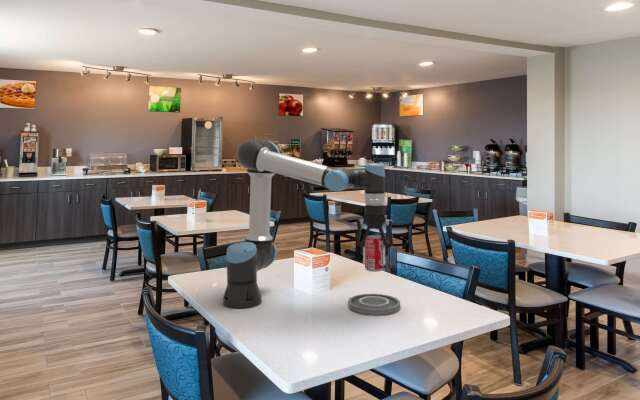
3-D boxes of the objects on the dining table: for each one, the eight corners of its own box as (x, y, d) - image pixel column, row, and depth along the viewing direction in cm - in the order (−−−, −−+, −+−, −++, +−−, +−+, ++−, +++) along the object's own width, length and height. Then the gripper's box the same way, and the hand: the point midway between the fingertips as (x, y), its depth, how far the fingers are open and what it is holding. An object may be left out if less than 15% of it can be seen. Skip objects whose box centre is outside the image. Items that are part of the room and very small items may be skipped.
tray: (344, 313, 175) (344, 307, 174) (352, 297, 194) (352, 291, 194) (399, 317, 171) (399, 310, 170) (401, 300, 190) (401, 294, 190)
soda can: (382, 272, 177) (382, 238, 175) (363, 271, 178) (363, 237, 177) (384, 268, 184) (384, 235, 182) (366, 267, 185) (366, 234, 184)
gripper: (347, 204, 177) (347, 265, 179) (400, 205, 173) (399, 267, 175) (350, 202, 184) (350, 260, 186) (401, 203, 180) (400, 262, 182)
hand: (374, 263), depth 181 cm, fingers closed on soda can, 7 cm apart
